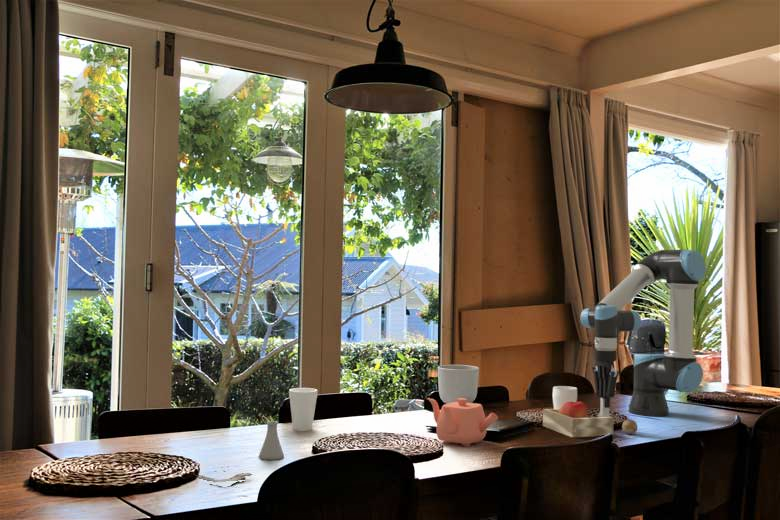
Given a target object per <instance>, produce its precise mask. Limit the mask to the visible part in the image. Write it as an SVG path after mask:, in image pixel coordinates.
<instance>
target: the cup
mask: <svg viewBox="0 0 780 520" xmlns="http://www.w3.org/2000/svg"><path fill="white" fill-rule="evenodd" d="M551 395H552V405H553V409H560V408H561V406H562V405H563V404H564V403H566V402H572V401H573V402H578V388H577V387H575V386H570V385H569V386H567V385H555V386H553V387H552V393H551Z"/></svg>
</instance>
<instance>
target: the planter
mask: <svg viewBox="0 0 780 520" xmlns="http://www.w3.org/2000/svg"><path fill="white" fill-rule="evenodd" d="M479 374H480V367H478V366H475V365H466V364H442V365H438V366H437V379H438V380H437V382H438V393H439V394H438V395H439V397H440V400H442V402H443V403H444V404H447V403H452V402H458V401H457V399H458V398H465V399H468V400H467V403H474V401H475V399H476V398H477V394H478V387H479V386H478V384H479Z"/></svg>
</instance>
